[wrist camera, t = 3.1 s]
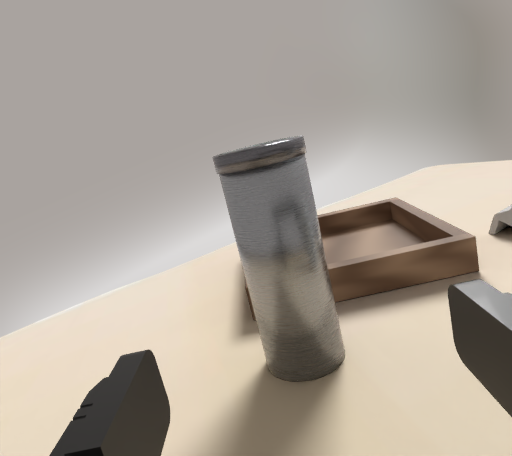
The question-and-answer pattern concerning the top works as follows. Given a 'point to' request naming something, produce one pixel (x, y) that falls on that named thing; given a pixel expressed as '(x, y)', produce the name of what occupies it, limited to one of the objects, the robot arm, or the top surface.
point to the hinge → (501, 220)
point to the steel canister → (283, 257)
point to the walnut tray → (390, 249)
